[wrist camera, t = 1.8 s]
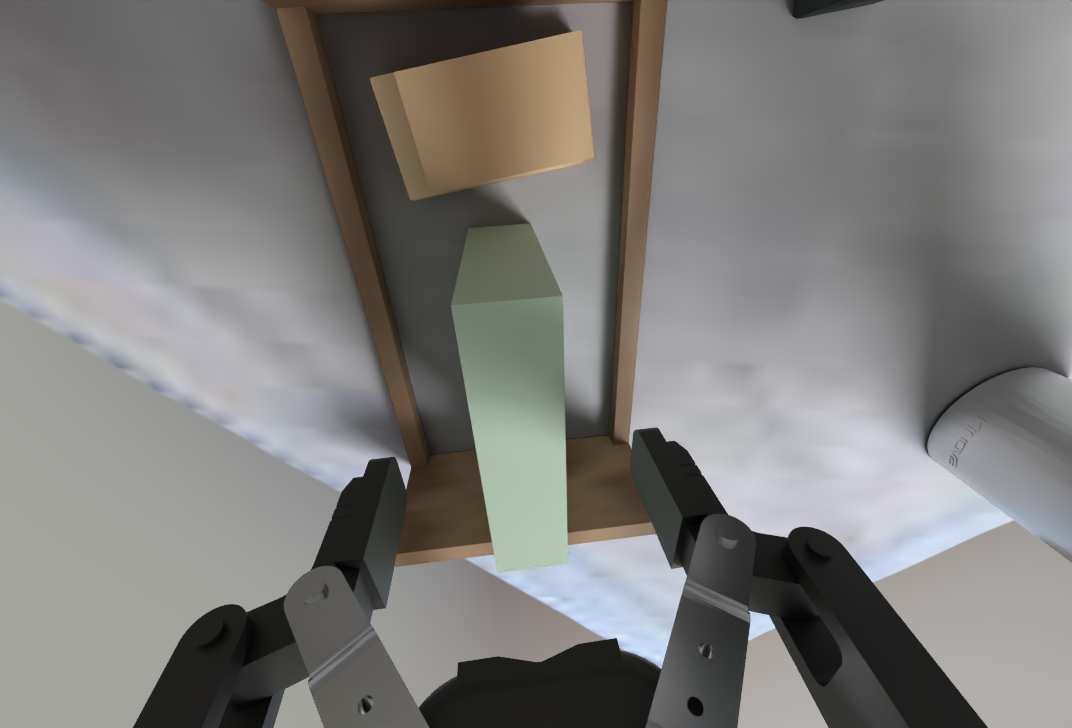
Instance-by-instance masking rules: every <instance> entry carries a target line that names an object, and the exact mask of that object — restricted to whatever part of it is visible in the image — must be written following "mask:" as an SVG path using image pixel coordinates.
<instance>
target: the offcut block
mask: <svg viewBox="0 0 1072 728" xmlns="http://www.w3.org/2000/svg"><path fill="white" fill-rule="evenodd" d="M369 79H370V82H371V85H372V88H373V91H374V94H375V97H376V100H377V103H378V105H379V108H380V111H381V114H382V117H383V120H384V123H385V126H386V129H387V132H388V135H389V138H390V141H391V144H392V147H393V150H394V153H395V156H396V159H397V162H398V165H399V168H400V171H401V174H402V177H403V180H404V183H405V186H406V189H407V192H408V195H409V198H410V200H413V201H416V200H420V199H425V198H429V197H434V196H438V195H443V194H447V193H452V192H456V191H461V190H465V189H470V188H474V187H479V186H483V185H488V184H492V183H497V182H501V181H506V180H510V179H515V178H519V177H524V176H528V175H533V174H537V173H541V172H546V171H550V170H555V169H559V168H564V167H568V166H573V165H577V164H582V163H586V162H591V161H595V155H594V145H593V135H592V125H591V116H590V106H589V96H588V86H587V76H586V66H585V56H584V46H583V36H582V30H578V31H574V32H569V33H565V34H560V35H556V36H551V37H547V38H543V39H538V40H534V41H529V42H525V43H520V44H516V45H512V46H507V47H503V48H498V49H494V50H489V51H485V52H481V53H476V54H472V55H467V56H463V57H458V58H454V59H450V60H445V61H441V62H436V63H432V64H427V65H423V66H419V67H414V68H410V69H405V70H401V71H396V72H393V73H389V74H384V75H380V76H376V77H371V78H369Z"/></svg>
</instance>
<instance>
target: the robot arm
mask: <svg viewBox="0 0 1072 728" xmlns="http://www.w3.org/2000/svg"><path fill="white" fill-rule="evenodd" d="M927 447H928V453H929V455H930V457H931V458H932V459H933V460H934V461H935V462H937V463H938V464H940V465H941V466H942V467H944V468H945V469H946V470H948V471H949V472H950V473H952V474H953V475H954V476H956V477H957V478H958V479H960V480H961V481H962V482H964V483H965V484H966V485H968V486H969V487H970V488H972V489H973V490H975V491H976V492H977V493H979V494H980V495H981V496H983V497H984V498H985V499H986V500H988V501H989V502H990V503H992V504H993V505H994V506H996V507H997V508H998V509H1000V510H1001V511H1002V512H1004V513H1005V514H1006V515H1008V516H1009V517H1011V518H1012V519H1013V520H1015V521H1016V522H1018V523H1019V524H1020V525H1022V526H1023V527H1024V528H1025V529H1027V530H1028V531H1030V532H1031V533H1032V534H1034V535H1035V536H1036V537H1038V538H1039V539H1040V540H1042V541H1043V542H1044V543H1046V544H1047V545H1048V546H1050V547H1051V548H1053V549H1054V550H1055V551H1057V552H1058V553H1059V554H1061V555H1062V556H1063V557H1065V558H1066V559H1067V560H1069V561H1070V562H1072V380H1071V379H1068V378H1066V377H1064V376H1061V375H1059V374H1057V373H1054V372H1052V371H1050V370H1047V369H1045V368H1037V367H1031V368H1021V369H1017V370H1013V371H1009V372H1006V373H1004V374H1001V375H999V376H996V377H994V378H991V379H990V380H988V381H986V382H984V383H982V384H980V385H978V386H977V387H975V388H974V389H972V390H971V391H969V392H968V393H966V394H965V395H963V396H962V397H961V398H960V399H959V400H957V401H956V402H955V403H954V404H953V405H952V406H950V408H949V409H948V410H947V411H946V412H945V413H944V414H943V415H942V416H941V417H940V419H939V420H938V422H937V423H936V424H935V426H934V427H933V430H932V432H931V434H930V436H929V440H928V445H927ZM630 466H631V473H632V477H633V480H634V483H635V485H636V487H637V490H638V492H639V494H640V497H641V499H642V501H643V504H644V506H645V508H646V511H647V513H648V515H649V518H650V520H651V522H652V525H653V527H654V529H655V532H656V534H657V536H658V539H659V541H660V543H661V546H662V548H663V550H664V553H665V555H666V557H667V560H668V562H669V564H670V567H671V569H673V568H680V567H683V568H684V570H685V572H686V575H687V578H686V582H685V585H684V588H683V592H682V596H681V599H680V603H679V607H678V610H677V614H676V618H675V621H674V625H673V629H672V632H671V636H670V640H669V643H668V647H667V651H666V654H665V658H664V662H663V665H662V669H660V668H659V667H658V666H656V665H655V664H654V663H652V662H650V661H648V660H647V659H645V658H643V657H640V656H638V655H636V654H633V653H629V652H626V651H620V649H619V645H618V641H617V638H614V639H608V640H602V641H595V642H589V643H582V644H578V645H576V646H574V647H571V648H569V649H567V650H565V651H563V652H561V653H559V654H557V655H555V656H553V657H551V658H549V659H547V660H545V661H542V662H531V661H524V660H518V659H511V658H504V657H492V658H485V659H479V660H473V661H466V662H459V663H458V674H457V676H456V677H454V678H452V679H450V680H449V681H447V682H446V683H444V684H443V685H441V686H440V687H439V688H437V689H436V690H435V691H434V692H433V693H432V694H431V695H430V696H429V697H428V698H427V699H426V700H425V701H424V702H423V703H422V704H421V706H420V707H419V708H418V706H417V705H416V703H415V701H414V699H413V698H412V696H411V694H410V692H409V690H408V689H407V687H406V685H405V683H404V682H403V680H402V678H401V676H400V674H399V673H398V671H397V669H396V667H395V665H394V664H393V662H392V660H391V658H390V657H389V655H388V653H387V651H386V649H385V648H384V646H383V644H382V642H381V640H380V639H379V637H378V635H377V633H376V632H375V630H374V628H373V627H372V626H371V624H370V621H371V616H372V612H373V610H375V609H383V608H386V605H387V600H388V595H389V590H390V585H391V580H392V575H393V570H394V565H395V560H396V556H397V551H398V546H399V541H400V536H401V531H402V526H403V521H404V516H405V511H406V505H407V495H406V489H405V485H404V482H403V479H402V476H401V473H400V470H399V466H398V463H397V460H396V458H395V457H389V458H380V459H371V460H370V461H369V462H368V465H367V467H366V470H365V473H364V476H363V477H357V478H353V479H352V480H351V482H350V483H349V484H348V485H347V486H346V487H345V489H344V490H343V491H342V493H341V495H340V498H339V501H338V503H337V506H336V507H337V508H336V509H335V511H334V514H333V516H332V521H331V522H330V524H329V526H328V529H327V531H326V534H325V536H324V539H323V542H322V544H321V547H320V549H319V552H318V555H317V557H316V560H315V562H314V565H313V567H312V569H311V570H310V571H309V572H307V573H306V574H304V575H303V576H301V577H300V578H299V579H298V580H297V581H296V582H295V583H294V584H293V585H292V587H291V588H290V590H289V591H288V593H287V594H286V595H285V596H283V597H281V598H279V599H277V600H274V601H272V602H270V603H267V604H265V605H263V606H260V607H258V608H256V609H253V610H251V611H249V612H246V611H245V610H244V609H243V608H242V607H241V606H239V605H234V604H230V605H224V606H220V607H218V608H215V609H213V610H211V611H210V612H208V613H206V614H205V615H203V616H202V617H201V618H199V619H198V620H197V621H196V622H195V623H194V624H193V625H192V626H191V627H190V628H189V629H188V630H187V631H186V632H185V634H184V635H183V636H182V638H181V640H180V641H179V643H178V645H177V647H176V649H175V651H174V652H173V654H172V656H171V658H170V660H169V662H168V663H167V665H166V667H165V669H164V671H163V673H162V675H161V677H160V678H159V680H158V682H157V684H156V686H155V688H154V689H153V691H152V693H151V695H150V697H149V699H148V701H147V702H146V704H145V706H144V708H143V710H142V712H141V714H140V715H139V717H138V719H137V721H136V723H135V725H134V727H133V728H273V727H274V724H275V720H276V717H277V713H278V710H279V707H280V704H281V701H282V697H283V694H284V690H285V688H288V687H290V686H291V685H293V684H296V683H298V682H300V681H301V680H304V679H306V678H307V677H310V679H309V681H308V684H309V688H310V691H311V694H312V697H313V699H314V702H315V705H316V707H317V710H318V713H319V715H320V718H321V721H322V723H323V726H324V728H737V725H738V716H739V708H740V700H741V692H742V684H743V676H744V668H745V660H746V652H747V644H748V636H749V628H750V613H749V612H748V611H752V612H757V613H762V614H767V615H769V616H770V618H771V620H772V622H773V623H774V625H775V627H776V629H777V631H778V633H779V635H780V636H781V639H782V640H783V642H784V644H785V646H786V648H787V650H788V652H789V654H790V656H791V657H792V659H793V661H794V663H795V665H796V666H797V669H798V671H799V673H800V674H801V676H802V678H803V680H804V682H805V684H806V686H807V688H808V690H809V691H810V693H811V695H812V697H813V699H814V701H815V703H816V705H817V706H818V708H819V710H820V712H821V714H822V716H823V718H824V720H825V722H826V724H827V725H828V727H829V728H988V727H987V726H986V725H985V723H984V722H983V721H982V720H981V719H980V717H979V716H978V715H977V713H976V712H975V711H974V710H973V708H972V707H971V706H970V705H969V704H968V702H967V701H966V700H965V699H964V697H963V696H962V695H961V693H960V692H959V691H958V689H957V688H956V687H955V686H954V685H953V683H952V682H951V681H950V679H949V678H948V677H947V676H946V674H945V673H944V672H943V671H942V669H941V668H940V667H939V666H938V664H937V663H936V662H935V661H934V659H933V658H932V657H931V656H930V654H929V653H928V652H927V650H926V649H925V648H924V647H923V645H922V644H921V643H920V642H919V640H918V639H917V638H916V637H915V635H914V634H913V633H912V632H911V630H910V629H909V628H908V627H907V625H906V624H905V623H904V622H903V620H902V619H901V618H900V617H899V616H898V614H897V613H896V612H895V611H894V609H893V608H892V606H891V605H890V604H889V603H888V601H887V600H886V599H885V598H884V597H883V595H882V594H881V593H880V591H879V590H878V589H877V588H876V586H875V585H874V584H873V583H872V581H871V580H870V579H869V578H868V576H867V575H866V574H865V572H864V571H863V570H862V569H861V567H860V566H859V565H858V564H857V562H856V561H855V560H854V559H853V557H852V556H851V555H850V554H849V552H848V551H847V550H846V549H845V547H844V546H843V545H842V544H841V543H840V542H839V541H838V540H836V539H835V538H834V537H832V536H831V535H829V534H827V533H826V532H823V531H821V530H818V529H815V528H811V527H798V528H795V529H794V530H792V531H791V532H790V534H789V536H788V538H786V537H779V536H773V535H767V534H761V533H756V532H753V531H751V530H750V529H749V527H748V526H747V525H745V524H744V523H743V522H742V521H740V520H738V519H737V518H735V517H732V516H729V515H728V514H727V512H726V511H725V509H724V508H723V506H722V504H721V503H720V501H719V500H718V498H717V497H716V495H715V493H714V492H713V490H712V489H711V487H710V486H709V484H708V482H707V481H706V479H705V478H704V476H702V474H701V471H700V470H699V468H698V467H697V465H695V462H694V460H693V459H692V457H691V456H690V454H689V453H688V451H687V450H686V449H684V448H683V447H682V446H681V445H679V444H678V443H677V442H675V441H669V442H666V440H665V439H664V437H663V435H662V434H661V432H660V430H659V429H658V428H648V429H639V430H635V431H634V433H633V442H632V452H631V462H630Z"/></svg>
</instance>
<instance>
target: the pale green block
mask: <svg viewBox="0 0 1072 728" xmlns="http://www.w3.org/2000/svg"><path fill="white" fill-rule="evenodd" d="M451 310H452V315H453V321H454V327H455V333H456V338H457V344H458V350H459V355H460V361H461V367H462V373H463V378H464V384H465V390H466V396H467V401H468V407H469V413H470V418H471V424H472V430H473V436H474V441H475V447H476V453H477V459H478V464H479V470H480V476H481V481H482V487H483V493H484V499H485V504H486V510H487V516H488V522H489V527H490V533H491V539H492V544H493V550H494V556H495V562H496V567H497V573H498V572H506V571H514V570H522V569H530V568H537V567H545V566H553V565H561V564H568V536H567V486H566V436H565V386H564V337H563V296H562V293H561V291H560V289H559V287H558V284H557V282H556V280H555V278H554V275H553V273H552V271H551V269H550V266H549V264H548V262H547V260H546V257H545V255H544V253H543V251H542V248H541V246H540V244H539V242H538V239H537V237H536V235H535V233H534V230H533V228H532V226H531V224H530V223H528V224H515V225H502V226H489V227H476V228H468V232H467V237H466V241H465V245H464V250H463V254H462V259H461V263H460V267H459V272H458V276H457V281H456V285H455V289H454V294H453V298H452V303H451Z"/></svg>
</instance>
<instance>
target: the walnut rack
mask: <svg viewBox="0 0 1072 728" xmlns="http://www.w3.org/2000/svg"><path fill="white" fill-rule="evenodd" d="M263 1H264V2H266V3H268V4H269V5H271V6H273V7H275V8H276V10H277V14H278V17H279V21H280V24H281V27H282V31H283V34H284V38H285V41H286V44H287V48H288V51H289V55H290V58H291V61H292V65H293V68H294V71H295V75H296V78H297V82H298V85H299V88H300V92H301V95H302V99H303V102H304V105H305V109H306V112H307V116H308V119H309V122H310V126H311V129H312V132H313V136H314V139H315V143H316V146H317V149H318V153H319V156H320V160H321V163H322V166H323V170H324V173H325V177H326V180H327V183H328V187H329V190H330V193H331V197H332V200H333V204H334V207H335V210H336V214H337V217H338V221H339V224H340V227H341V231H342V234H343V238H344V241H345V244H346V248H347V251H348V254H349V258H350V261H351V265H352V268H353V271H354V275H355V278H356V282H357V285H358V288H359V292H360V295H361V299H362V302H363V305H364V309H365V312H366V315H367V319H368V322H369V326H370V329H371V332H372V336H373V339H374V343H375V346H376V349H377V353H378V356H379V360H380V363H381V366H382V370H383V373H384V377H385V380H386V383H387V387H388V390H389V393H390V397H391V400H392V404H393V407H394V410H395V414H396V417H397V421H398V424H399V427H400V431H401V434H402V438H403V441H404V444H405V448H406V451H407V454H408V458H409V461H410V465H411V471H410V476H409V480H408V484H407V489H406V495H407V505H406V511H405V516H404V521H403V526H402V531H401V536H400V541H399V546H398V551H397V556H396V560H395V566H396V567H397V566H406V565H414V564H421V563H429V562H438V561H445V560H453V559H461V558H469V557H477V556H485V555H493V554H494V550H493V544H492V539H491V533H490V527H489V522H488V516H487V510H486V504H485V499H484V493H483V487H482V481H481V476H480V470H479V464H478V459H477V453H476V450H468V451H459V452H450V453H441V454H432V455H429V451H428V447H427V443H426V439H425V436H424V432H423V428H422V424H421V420H420V416H419V412H418V408H417V404H416V401H415V397H414V393H413V389H412V385H411V381H410V377H409V373H408V369H407V365H406V362H405V358H404V354H403V350H402V346H401V342H400V338H399V334H398V330H397V327H396V323H395V319H394V315H393V311H392V307H391V303H390V299H389V295H388V292H387V288H386V284H385V280H384V276H383V272H382V268H381V264H380V260H379V257H378V253H377V249H376V245H375V241H374V237H373V233H372V229H371V225H370V222H369V218H368V214H367V210H366V206H365V202H364V198H363V194H362V190H361V187H360V183H359V179H358V175H357V171H356V167H355V163H354V159H353V155H352V152H351V148H350V144H349V140H348V136H347V132H346V128H345V124H344V120H343V117H342V113H341V109H340V105H339V101H338V97H337V93H336V89H335V85H334V82H333V78H332V74H331V70H330V66H329V62H328V58H327V54H326V50H325V47H324V43H323V39H322V35H321V31H320V27H319V23H318V19H317V15H316V14H337V13H360V12H384V11H407V10H430V9H454V8H477V7H500V6H524V5H547V4H570V3H593V2H617V1H633V11H632V30H631V48H630V67H629V85H628V104H627V122H626V141H625V159H624V178H623V196H622V215H621V233H620V252H619V270H618V289H617V307H616V325H615V344H614V362H613V381H612V399H611V418H610V435H604V436H595V437H586V438H577V439H568V440H566V486H567V536H568V545H572V544H580V543H588V542H596V541H604V540H612V539H619V538H627V537H635V536H643V535H651V534H656V532H655V529H654V527H653V525H652V522H651V520H650V518H649V515H648V513H647V511H646V508H645V506H644V504H643V501H642V499H641V497H640V494H639V492H638V490H637V487H636V485H635V483H634V480H633V477H632V473H631V466H630V462H631V452H632V450H631V447H630V445H629V433H630V422H631V411H632V399H633V388H634V376H635V365H636V353H637V342H638V330H639V319H640V308H641V296H642V285H643V273H644V262H645V250H646V239H647V227H648V216H649V205H650V193H651V182H652V170H653V159H654V147H655V136H656V124H657V113H658V102H659V90H660V79H661V67H662V56H663V44H664V33H665V21H666V10H667V0H263Z"/></svg>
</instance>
